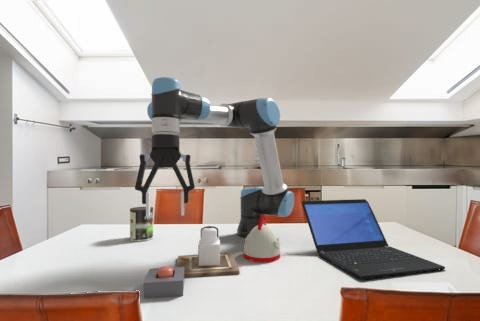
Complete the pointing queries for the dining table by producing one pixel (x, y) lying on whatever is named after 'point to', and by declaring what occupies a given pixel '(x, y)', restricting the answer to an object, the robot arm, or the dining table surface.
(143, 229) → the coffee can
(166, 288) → the block
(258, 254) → the kitchen timer
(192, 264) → the picture board
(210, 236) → the medicine bottle
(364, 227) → the laptop
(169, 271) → the button
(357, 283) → the dining table surface
